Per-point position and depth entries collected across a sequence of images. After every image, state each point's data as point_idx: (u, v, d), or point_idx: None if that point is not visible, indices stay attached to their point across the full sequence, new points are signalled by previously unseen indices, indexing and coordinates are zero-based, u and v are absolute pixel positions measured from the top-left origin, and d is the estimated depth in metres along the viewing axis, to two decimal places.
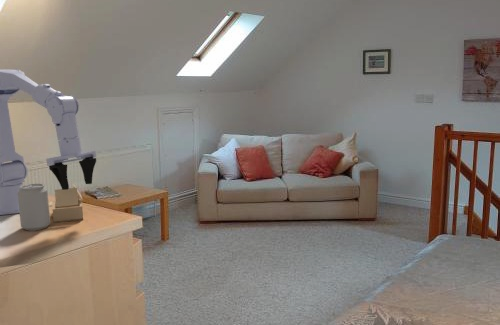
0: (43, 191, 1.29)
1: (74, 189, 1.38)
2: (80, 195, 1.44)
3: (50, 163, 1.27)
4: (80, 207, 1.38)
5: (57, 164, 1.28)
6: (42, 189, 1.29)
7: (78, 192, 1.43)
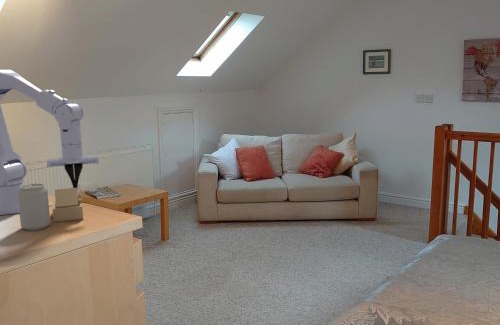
0: (43, 191, 1.29)
1: (74, 189, 1.38)
2: None
3: (47, 165, 1.39)
4: (80, 207, 1.38)
5: None
6: (42, 189, 1.29)
7: None
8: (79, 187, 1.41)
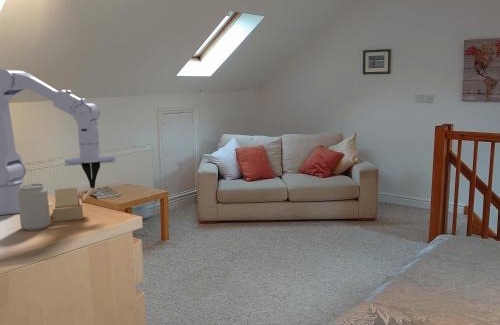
0: (43, 191, 1.29)
1: (74, 189, 1.38)
2: None
3: (65, 164, 1.40)
4: (80, 207, 1.38)
5: None
6: (42, 189, 1.29)
7: (89, 194, 1.44)
8: (93, 190, 1.42)
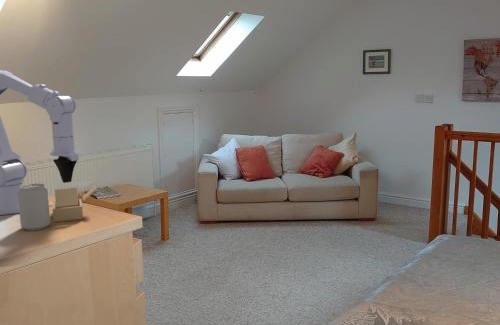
0: (43, 191, 1.29)
1: (74, 189, 1.38)
2: (86, 196, 1.45)
3: None
4: (80, 207, 1.38)
5: None
6: (42, 189, 1.29)
7: (89, 194, 1.44)
8: (93, 191, 1.43)
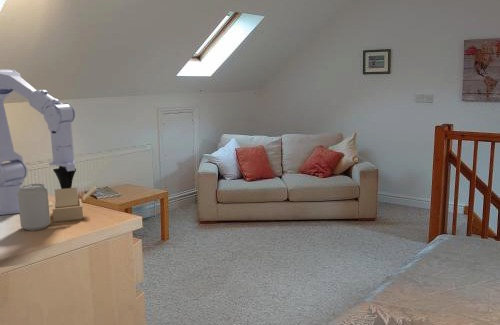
0: (43, 191, 1.29)
1: (74, 189, 1.37)
2: (86, 196, 1.45)
3: None
4: (80, 207, 1.38)
5: None
6: (42, 189, 1.29)
7: (89, 194, 1.44)
8: (93, 191, 1.43)
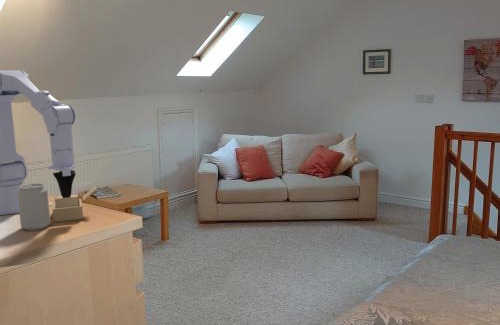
0: (43, 191, 1.29)
1: (75, 198, 1.33)
2: (86, 196, 1.45)
3: None
4: (80, 207, 1.38)
5: None
6: (42, 189, 1.29)
7: (89, 194, 1.44)
8: (93, 191, 1.43)
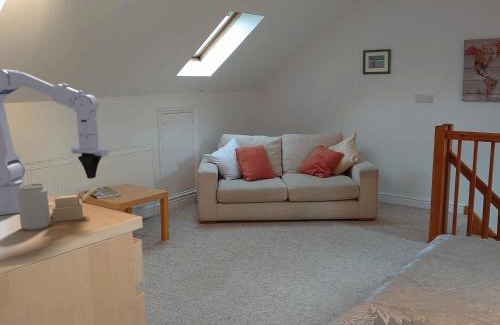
0: (43, 191, 1.29)
1: (75, 198, 1.33)
2: (86, 196, 1.45)
3: None
4: (80, 207, 1.38)
5: None
6: (42, 189, 1.29)
7: (89, 194, 1.44)
8: (93, 191, 1.43)
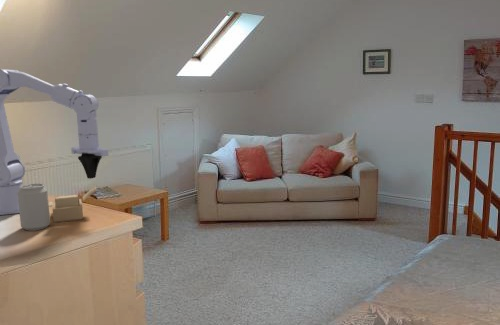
0: (43, 191, 1.29)
1: (75, 198, 1.33)
2: (86, 196, 1.45)
3: None
4: (80, 207, 1.38)
5: None
6: (42, 189, 1.29)
7: (89, 194, 1.44)
8: (93, 191, 1.43)
